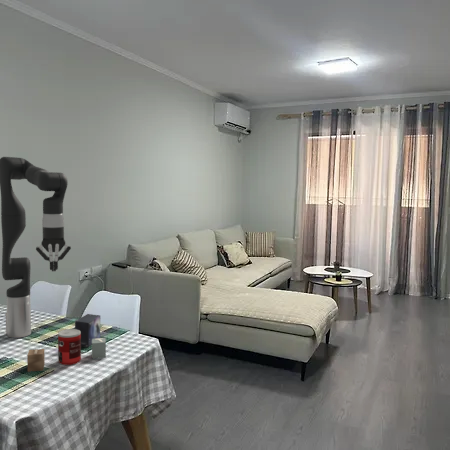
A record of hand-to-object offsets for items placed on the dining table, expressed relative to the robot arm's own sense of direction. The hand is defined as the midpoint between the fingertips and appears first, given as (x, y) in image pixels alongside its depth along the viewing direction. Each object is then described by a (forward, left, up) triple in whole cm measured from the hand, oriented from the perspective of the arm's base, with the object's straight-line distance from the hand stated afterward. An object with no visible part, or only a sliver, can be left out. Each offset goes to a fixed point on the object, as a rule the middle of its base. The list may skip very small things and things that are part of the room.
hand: (53, 270), depth 170 cm
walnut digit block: (+5, -14, -32) cm, 35 cm away
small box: (+4, +14, -32) cm, 35 cm away
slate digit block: (+17, +5, -32) cm, 37 cm away
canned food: (+11, -4, -32) cm, 34 cm away
